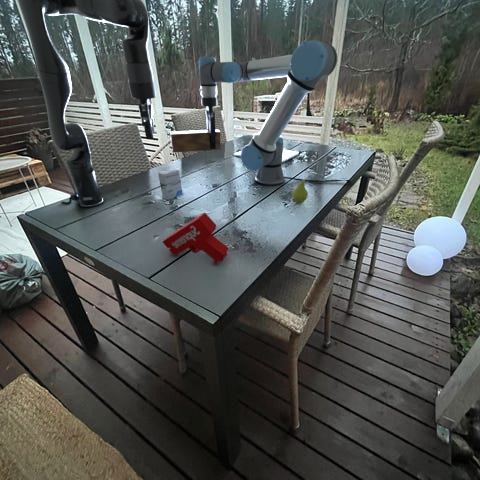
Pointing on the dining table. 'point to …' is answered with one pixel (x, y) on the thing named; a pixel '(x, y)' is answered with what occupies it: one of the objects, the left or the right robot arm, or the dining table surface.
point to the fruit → (300, 192)
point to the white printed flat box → (285, 155)
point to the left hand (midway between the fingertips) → (150, 136)
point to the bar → (193, 140)
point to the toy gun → (197, 239)
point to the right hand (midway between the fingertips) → (212, 147)
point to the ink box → (170, 183)
